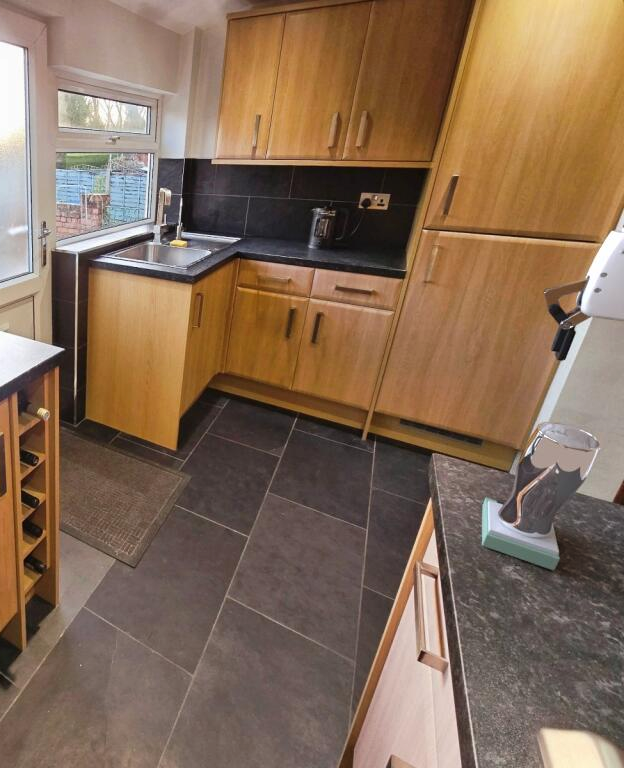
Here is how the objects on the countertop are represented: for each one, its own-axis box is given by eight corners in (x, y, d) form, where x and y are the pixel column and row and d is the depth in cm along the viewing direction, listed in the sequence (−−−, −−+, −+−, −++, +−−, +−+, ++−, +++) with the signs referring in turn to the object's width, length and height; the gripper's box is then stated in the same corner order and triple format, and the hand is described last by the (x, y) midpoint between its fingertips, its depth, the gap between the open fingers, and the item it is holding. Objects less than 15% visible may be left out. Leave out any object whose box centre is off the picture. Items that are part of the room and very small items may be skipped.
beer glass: (564, 533, 69) (617, 444, 62) (532, 546, 67) (583, 455, 60) (513, 501, 75) (556, 416, 68) (481, 512, 72) (523, 426, 65)
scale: (481, 507, 78) (487, 494, 77) (545, 527, 74) (552, 513, 73) (482, 545, 70) (488, 531, 69) (554, 571, 66) (561, 555, 65)
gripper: (775, 224, 53) (698, 372, 60) (566, 215, 62) (520, 345, 69) (811, 229, 47) (722, 392, 54) (575, 218, 56) (524, 359, 63)
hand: (609, 365), depth 61 cm, fingers open, 9 cm apart
